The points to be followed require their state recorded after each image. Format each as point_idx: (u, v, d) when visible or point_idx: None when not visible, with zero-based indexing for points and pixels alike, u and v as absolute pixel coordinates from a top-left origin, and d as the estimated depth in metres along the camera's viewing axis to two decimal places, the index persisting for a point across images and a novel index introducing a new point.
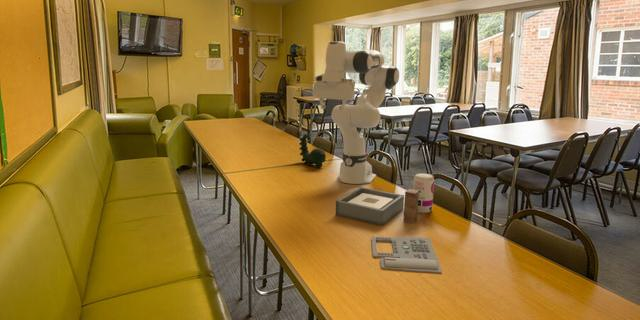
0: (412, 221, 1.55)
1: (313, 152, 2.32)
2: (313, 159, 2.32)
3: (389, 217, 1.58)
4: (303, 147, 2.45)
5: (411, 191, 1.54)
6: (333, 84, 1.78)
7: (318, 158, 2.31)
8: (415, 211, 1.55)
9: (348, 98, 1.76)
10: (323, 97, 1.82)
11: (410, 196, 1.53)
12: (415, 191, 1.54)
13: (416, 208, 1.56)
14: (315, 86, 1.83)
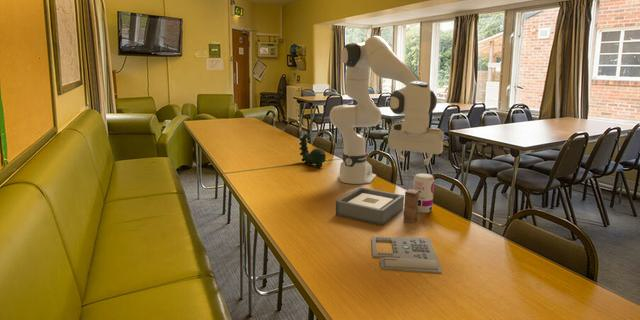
0: (412, 221, 1.55)
1: (313, 152, 2.32)
2: (313, 159, 2.32)
3: (389, 217, 1.58)
4: (303, 147, 2.45)
5: (411, 191, 1.54)
6: (416, 135, 1.47)
7: (318, 158, 2.31)
8: (415, 211, 1.55)
9: (436, 152, 1.45)
10: (402, 149, 1.52)
11: (410, 196, 1.53)
12: (415, 191, 1.54)
13: (416, 208, 1.56)
14: (392, 135, 1.52)
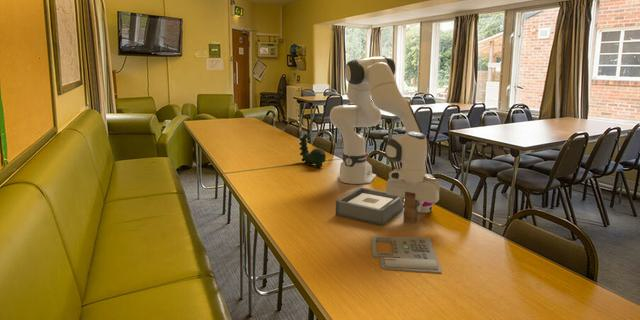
0: (412, 221, 1.55)
1: (313, 152, 2.32)
2: (313, 159, 2.32)
3: (389, 217, 1.58)
4: (303, 147, 2.45)
5: None
6: (413, 184, 1.51)
7: (318, 158, 2.31)
8: (415, 211, 1.55)
9: (433, 201, 1.49)
10: (400, 196, 1.56)
11: (410, 196, 1.53)
12: None
13: None
14: (389, 182, 1.57)
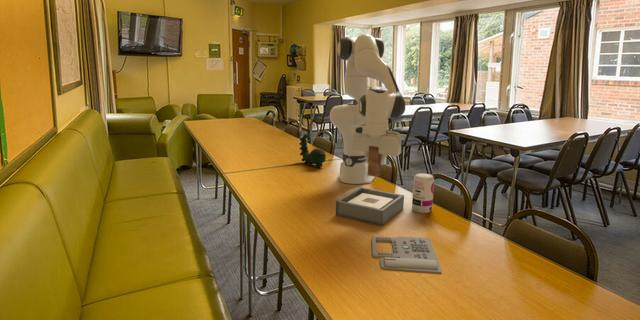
0: (376, 175, 1.60)
1: (313, 152, 2.32)
2: (313, 159, 2.32)
3: (389, 217, 1.58)
4: (303, 147, 2.45)
5: None
6: (376, 138, 1.55)
7: (318, 158, 2.31)
8: (379, 165, 1.60)
9: (394, 154, 1.54)
10: (364, 150, 1.61)
11: (374, 150, 1.58)
12: None
13: None
14: (354, 138, 1.61)
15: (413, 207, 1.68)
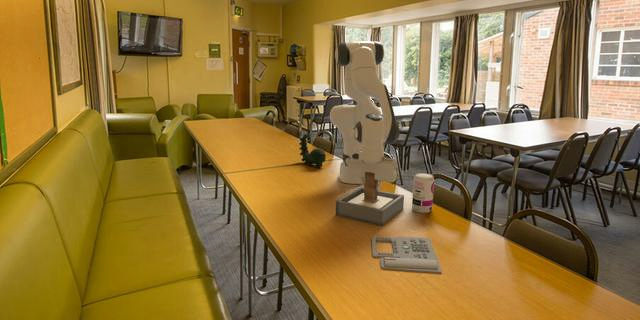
0: (372, 200, 1.62)
1: (313, 152, 2.32)
2: (313, 159, 2.32)
3: (389, 217, 1.58)
4: (303, 147, 2.45)
5: None
6: (372, 164, 1.58)
7: (318, 158, 2.31)
8: (375, 190, 1.63)
9: (390, 180, 1.57)
10: (360, 176, 1.63)
11: (370, 176, 1.61)
12: None
13: None
14: (351, 163, 1.64)
15: (413, 207, 1.68)
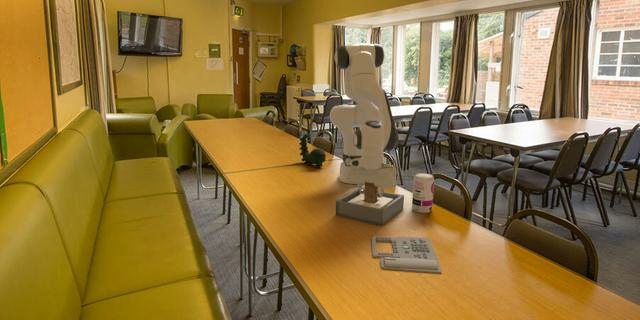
0: None
1: (313, 152, 2.32)
2: (313, 159, 2.32)
3: (389, 217, 1.58)
4: (303, 147, 2.45)
5: None
6: (372, 171, 1.59)
7: (318, 158, 2.31)
8: (374, 200, 1.64)
9: (390, 187, 1.57)
10: (360, 182, 1.64)
11: (369, 186, 1.62)
12: None
13: (375, 197, 1.64)
14: (351, 170, 1.65)
15: (413, 207, 1.68)
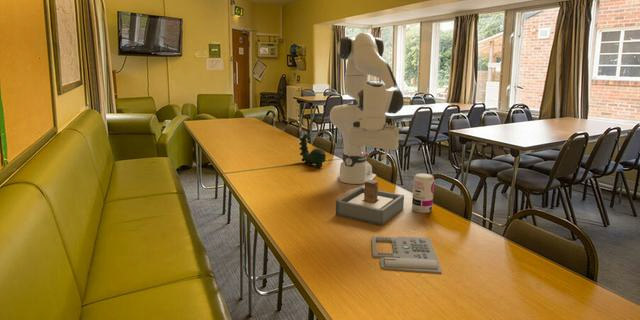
0: None
1: (313, 152, 2.32)
2: (313, 159, 2.32)
3: (389, 217, 1.58)
4: (303, 147, 2.45)
5: (370, 181, 1.63)
6: (373, 132, 1.55)
7: (318, 158, 2.31)
8: (374, 200, 1.64)
9: (392, 148, 1.54)
10: (362, 145, 1.60)
11: (369, 186, 1.62)
12: (374, 181, 1.63)
13: (375, 197, 1.64)
14: (352, 132, 1.61)
15: (413, 207, 1.68)
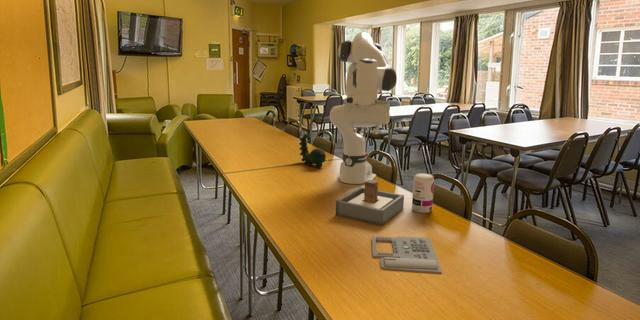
0: None
1: (313, 152, 2.32)
2: (313, 159, 2.32)
3: (389, 217, 1.58)
4: (303, 147, 2.45)
5: (370, 181, 1.63)
6: (366, 107, 1.63)
7: (318, 158, 2.31)
8: (374, 200, 1.64)
9: (383, 122, 1.61)
10: (355, 120, 1.68)
11: (369, 186, 1.62)
12: (374, 181, 1.63)
13: (375, 197, 1.64)
14: (345, 108, 1.69)
15: (413, 207, 1.68)
